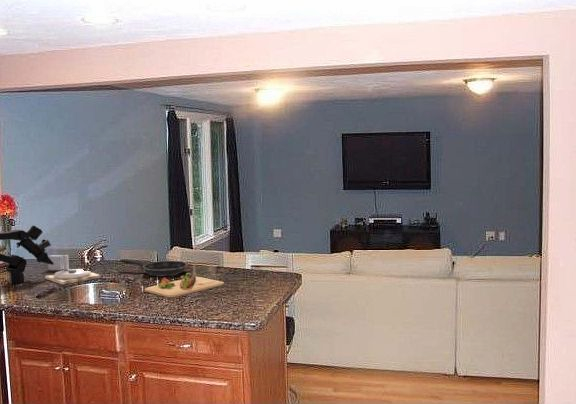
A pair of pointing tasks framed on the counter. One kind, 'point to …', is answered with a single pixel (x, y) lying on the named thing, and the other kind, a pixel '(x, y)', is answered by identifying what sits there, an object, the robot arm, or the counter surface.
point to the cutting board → (183, 286)
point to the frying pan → (159, 267)
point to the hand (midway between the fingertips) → (53, 264)
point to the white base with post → (70, 271)
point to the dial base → (66, 281)
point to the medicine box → (56, 262)
